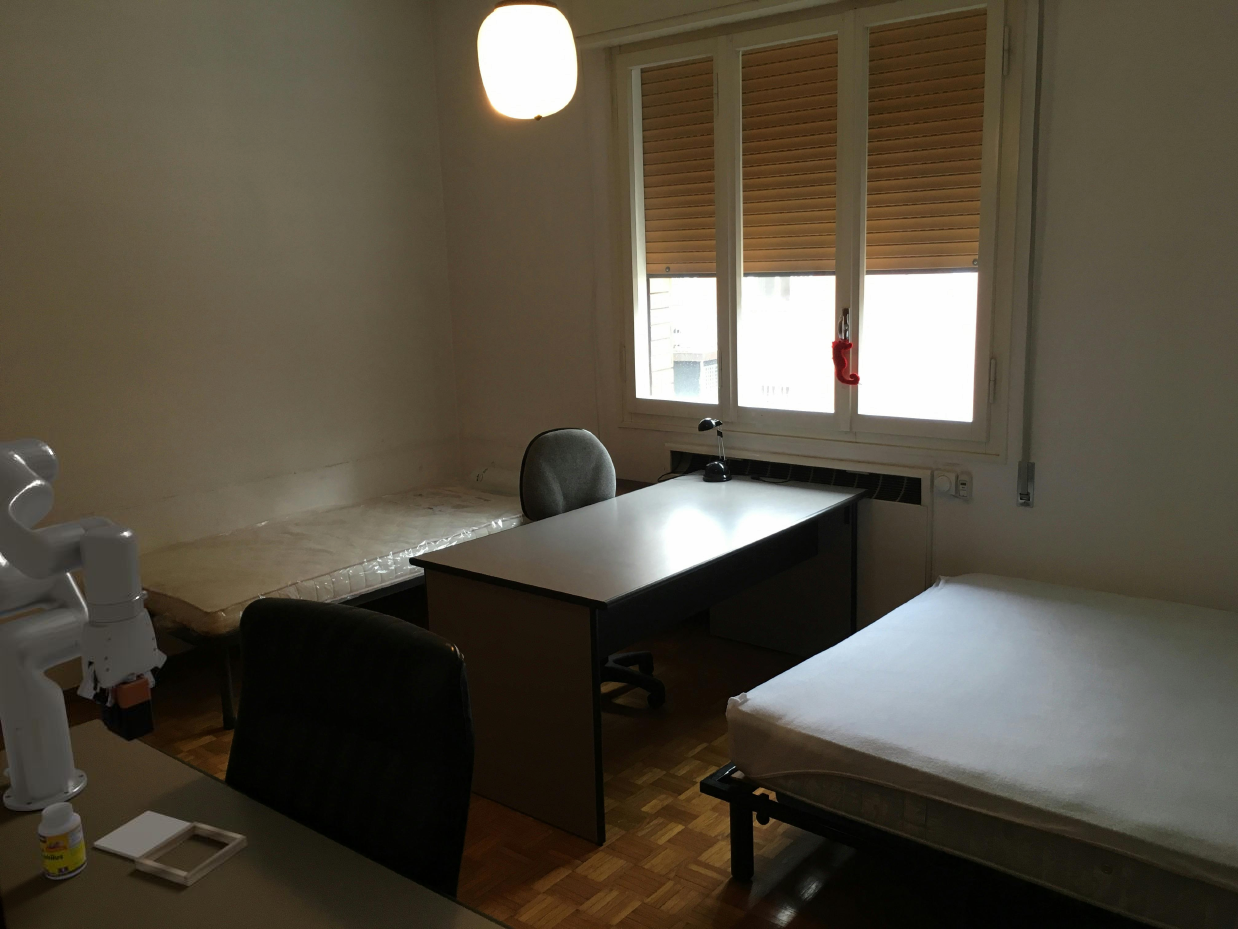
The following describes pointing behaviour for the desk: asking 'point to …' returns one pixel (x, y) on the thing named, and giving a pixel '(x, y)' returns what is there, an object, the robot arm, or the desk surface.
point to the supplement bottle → (61, 841)
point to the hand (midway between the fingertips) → (129, 717)
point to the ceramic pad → (141, 834)
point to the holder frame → (188, 879)
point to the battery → (134, 708)
